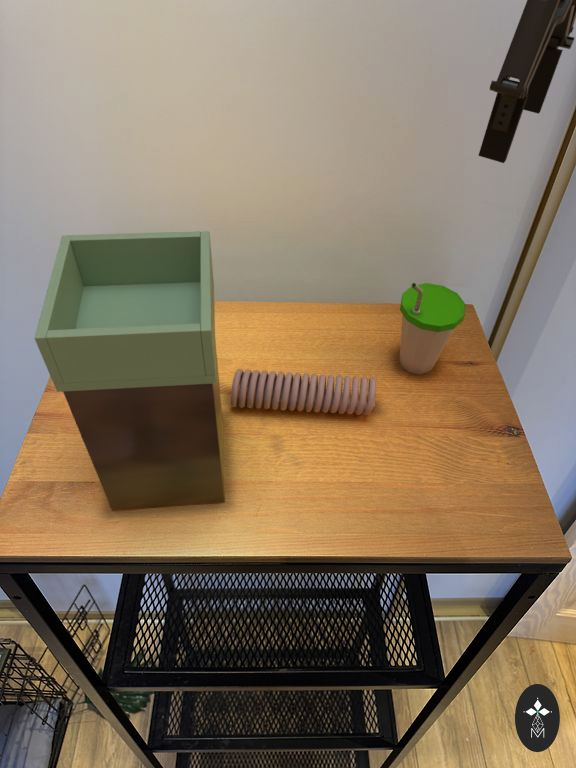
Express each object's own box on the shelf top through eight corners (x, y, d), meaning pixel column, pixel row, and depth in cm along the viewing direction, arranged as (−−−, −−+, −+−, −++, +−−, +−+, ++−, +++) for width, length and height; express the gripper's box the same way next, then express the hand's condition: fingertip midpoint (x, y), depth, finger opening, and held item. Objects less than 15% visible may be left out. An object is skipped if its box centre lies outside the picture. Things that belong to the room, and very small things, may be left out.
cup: (440, 342, 79) (469, 252, 68) (450, 385, 74) (484, 296, 63) (384, 340, 79) (404, 250, 68) (390, 383, 74) (413, 293, 63)
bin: (213, 284, 55) (209, 230, 50) (216, 383, 47) (211, 330, 42) (78, 289, 54) (61, 235, 49) (56, 392, 45) (34, 338, 41)
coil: (379, 369, 69) (231, 360, 70) (382, 396, 66) (226, 386, 66) (374, 397, 73) (232, 388, 73) (376, 424, 69) (228, 414, 69)
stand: (222, 415, 70) (210, 286, 55) (225, 502, 62) (212, 381, 47) (121, 421, 69) (81, 291, 53) (111, 510, 61) (61, 389, 46)
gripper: (583, -147, 55) (510, 84, 71) (507, -109, 41) (437, 170, 57) (666, -137, 52) (571, 100, 69) (617, -93, 38) (512, 193, 54)
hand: (511, 132), depth 63 cm, fingers open, 13 cm apart
